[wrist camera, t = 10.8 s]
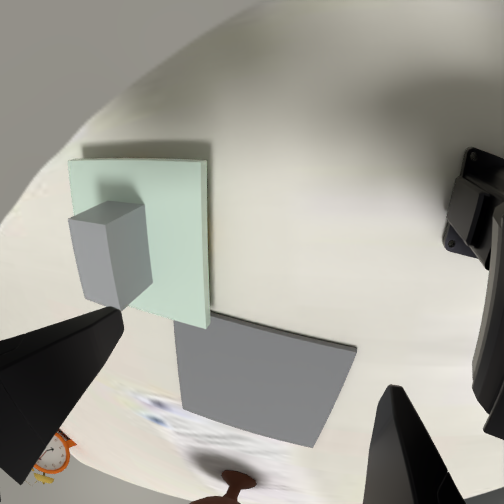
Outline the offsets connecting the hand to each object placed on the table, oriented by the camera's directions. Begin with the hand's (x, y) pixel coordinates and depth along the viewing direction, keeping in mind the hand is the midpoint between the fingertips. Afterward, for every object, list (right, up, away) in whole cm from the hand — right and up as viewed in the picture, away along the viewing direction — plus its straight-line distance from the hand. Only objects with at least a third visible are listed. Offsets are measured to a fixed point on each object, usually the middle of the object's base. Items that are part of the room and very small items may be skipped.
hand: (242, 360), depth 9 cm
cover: (-8, +4, +13) cm, 16 cm away
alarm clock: (-52, -46, +53) cm, 87 cm away
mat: (0, -9, +18) cm, 20 cm away
